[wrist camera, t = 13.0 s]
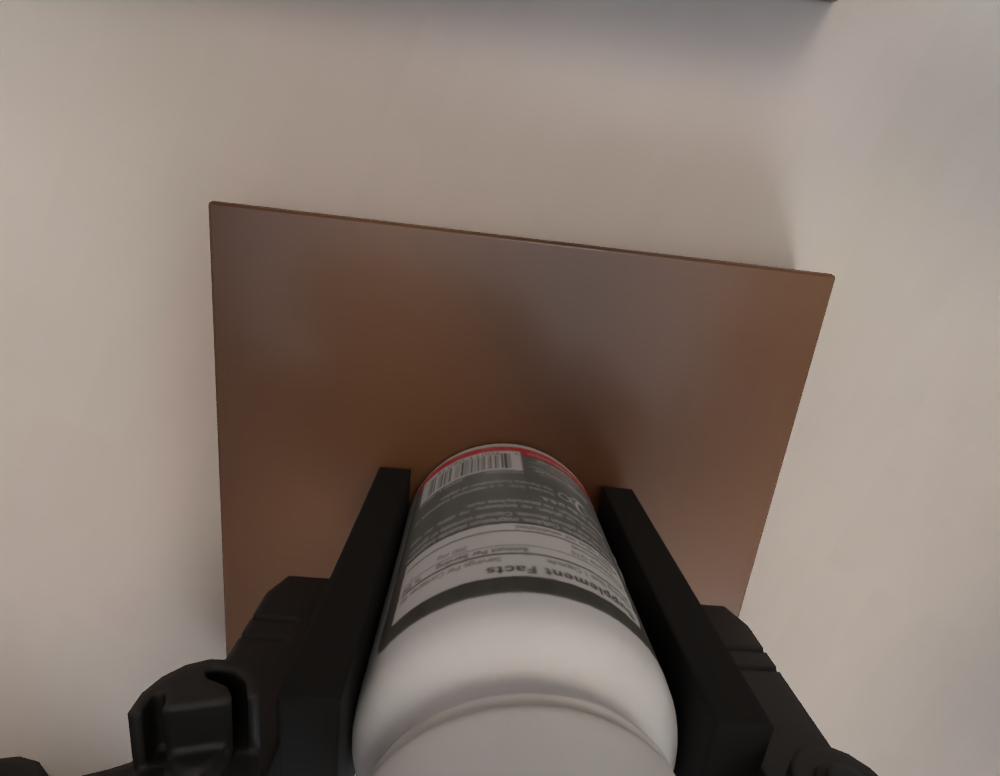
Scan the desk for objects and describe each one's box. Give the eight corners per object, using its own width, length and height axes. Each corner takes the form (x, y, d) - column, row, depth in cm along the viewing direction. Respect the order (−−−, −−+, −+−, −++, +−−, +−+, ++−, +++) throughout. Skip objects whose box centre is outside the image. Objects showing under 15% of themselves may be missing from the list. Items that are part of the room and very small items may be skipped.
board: (250, 676, 16) (227, 718, 15) (238, 204, 12) (206, 200, 11) (684, 702, 17) (703, 745, 16) (799, 270, 13) (838, 274, 12)
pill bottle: (546, 623, 14) (632, 1133, 6) (382, 568, 13) (235, 1058, 5) (624, 477, 13) (858, 866, 5) (448, 409, 12) (387, 729, 4)
